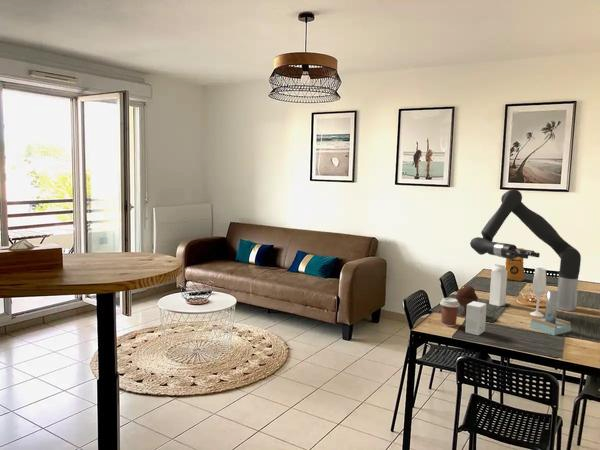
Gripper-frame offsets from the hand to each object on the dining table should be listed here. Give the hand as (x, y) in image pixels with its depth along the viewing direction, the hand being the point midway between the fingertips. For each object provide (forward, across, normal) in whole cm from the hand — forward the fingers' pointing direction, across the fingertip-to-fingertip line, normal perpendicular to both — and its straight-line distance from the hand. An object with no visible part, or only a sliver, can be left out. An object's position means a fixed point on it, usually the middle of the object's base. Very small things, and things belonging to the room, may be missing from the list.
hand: (533, 255), depth 236 cm
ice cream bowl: (-20, -22, +32) cm, 44 cm away
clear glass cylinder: (+14, -4, +29) cm, 32 cm away
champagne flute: (-4, +12, +32) cm, 35 cm away
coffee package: (-63, +71, +32) cm, 100 cm away
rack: (+14, -4, +32) cm, 35 cm away
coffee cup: (-12, -42, +32) cm, 54 cm away
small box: (+1, -39, +32) cm, 51 cm away
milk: (-26, +9, +32) cm, 42 cm away
